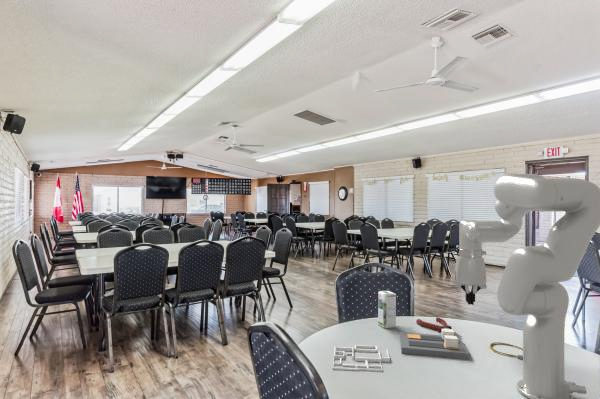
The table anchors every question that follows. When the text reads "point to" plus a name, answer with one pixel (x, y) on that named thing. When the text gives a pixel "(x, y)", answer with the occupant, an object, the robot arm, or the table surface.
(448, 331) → the tab
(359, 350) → the floor plan model
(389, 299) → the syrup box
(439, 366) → the table surface
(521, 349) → the extension cord
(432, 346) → the switch panel
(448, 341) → the tab
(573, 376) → the table surface
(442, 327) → the pliers
